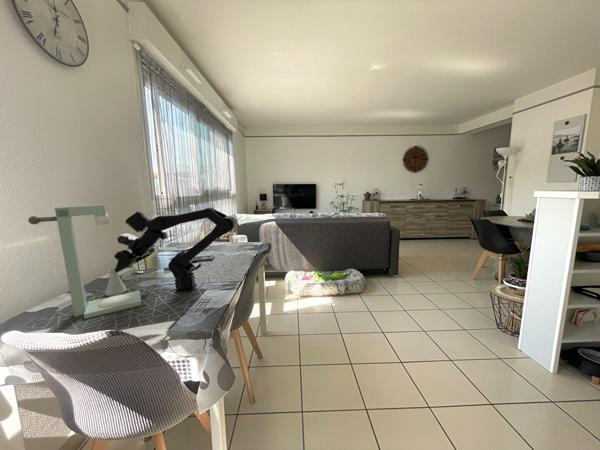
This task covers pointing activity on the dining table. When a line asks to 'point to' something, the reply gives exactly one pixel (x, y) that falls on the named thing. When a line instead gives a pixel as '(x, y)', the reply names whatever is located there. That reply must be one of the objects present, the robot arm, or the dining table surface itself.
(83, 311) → the bench press
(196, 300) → the dining table surface
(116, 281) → the flask
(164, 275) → the dining table surface
